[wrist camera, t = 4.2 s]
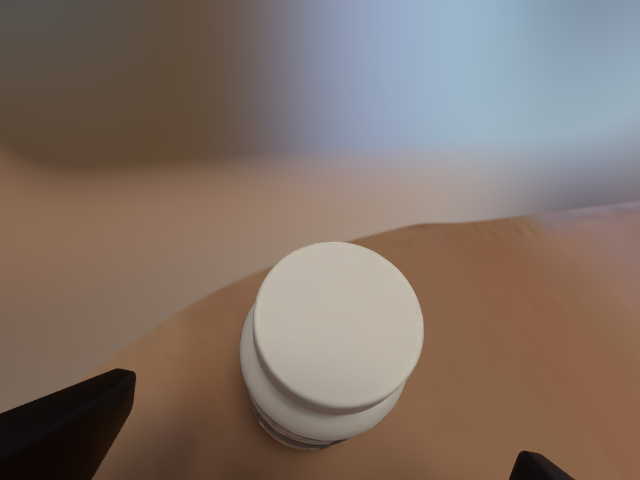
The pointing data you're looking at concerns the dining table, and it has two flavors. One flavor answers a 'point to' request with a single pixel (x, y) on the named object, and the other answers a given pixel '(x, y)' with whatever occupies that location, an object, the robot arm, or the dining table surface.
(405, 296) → the pill bottle
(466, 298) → the dining table surface
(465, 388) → the dining table surface
